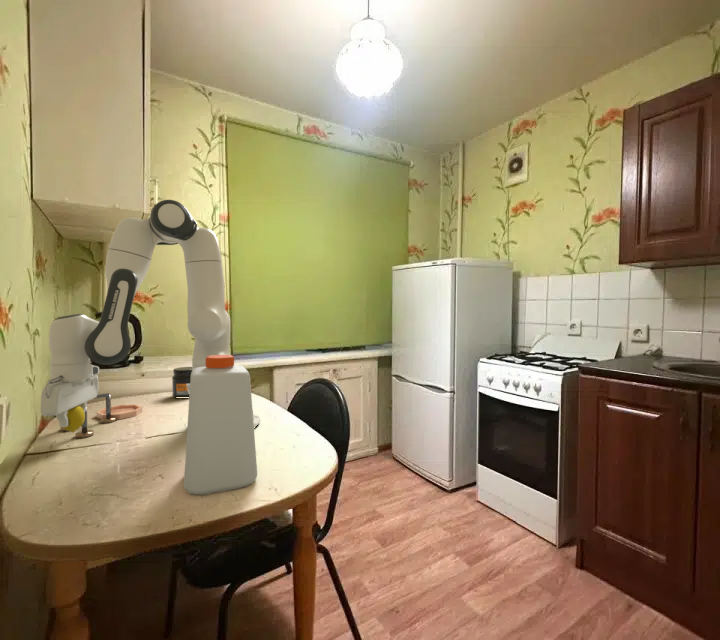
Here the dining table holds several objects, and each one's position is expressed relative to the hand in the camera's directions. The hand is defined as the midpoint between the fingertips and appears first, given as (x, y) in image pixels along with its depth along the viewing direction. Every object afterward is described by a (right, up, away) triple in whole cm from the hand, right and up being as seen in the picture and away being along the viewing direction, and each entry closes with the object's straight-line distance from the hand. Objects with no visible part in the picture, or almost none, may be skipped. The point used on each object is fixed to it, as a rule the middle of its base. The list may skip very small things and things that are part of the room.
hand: (72, 422), depth 104 cm
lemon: (0, -3, 0) cm, 3 cm away
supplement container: (+5, -5, +57) cm, 57 cm away
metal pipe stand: (-7, -6, +14) cm, 17 cm away
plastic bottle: (+48, -8, -19) cm, 52 cm away
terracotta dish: (-6, -5, +30) cm, 31 cm away
